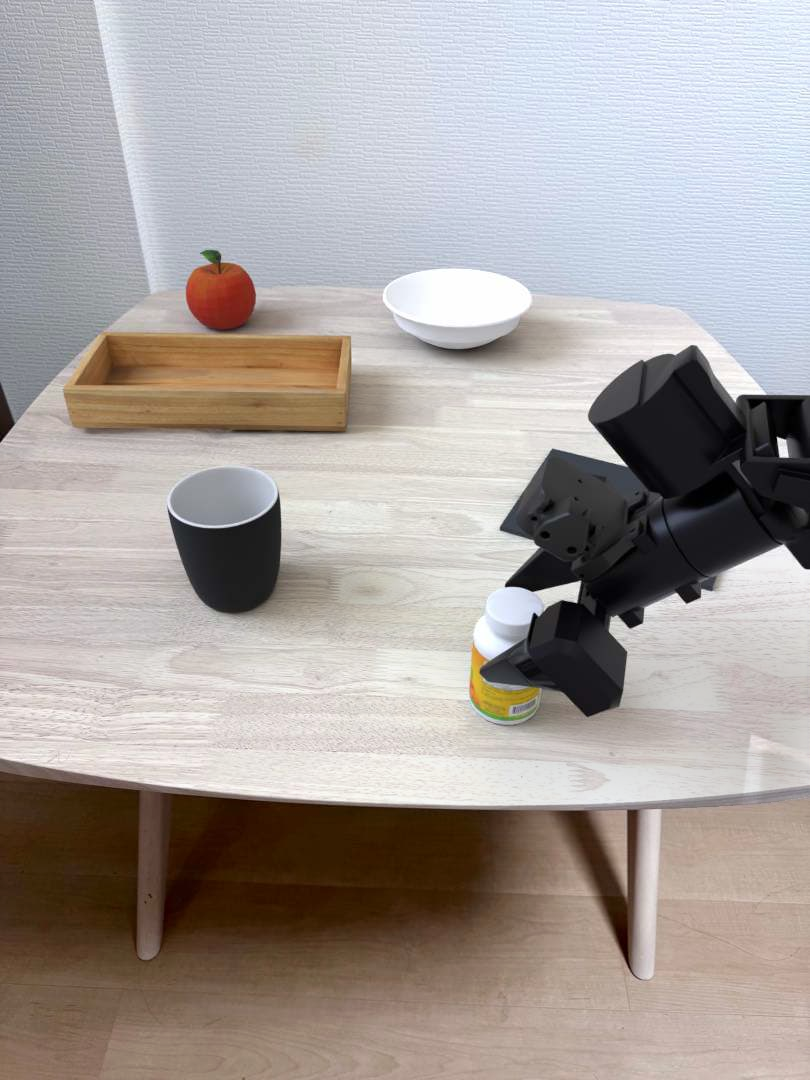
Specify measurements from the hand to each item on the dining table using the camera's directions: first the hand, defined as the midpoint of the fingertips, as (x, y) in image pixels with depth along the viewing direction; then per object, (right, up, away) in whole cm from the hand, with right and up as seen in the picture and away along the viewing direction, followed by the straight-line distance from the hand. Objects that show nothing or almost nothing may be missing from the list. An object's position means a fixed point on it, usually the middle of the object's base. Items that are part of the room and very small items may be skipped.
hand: (496, 630), depth 61 cm
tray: (-29, +23, +41) cm, 55 cm away
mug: (-22, +3, +15) cm, 27 cm away
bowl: (0, +34, +56) cm, 65 cm away
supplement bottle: (+1, -6, +4) cm, 7 cm away
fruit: (-32, +37, +59) cm, 76 cm away
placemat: (+15, +9, +23) cm, 29 cm away
